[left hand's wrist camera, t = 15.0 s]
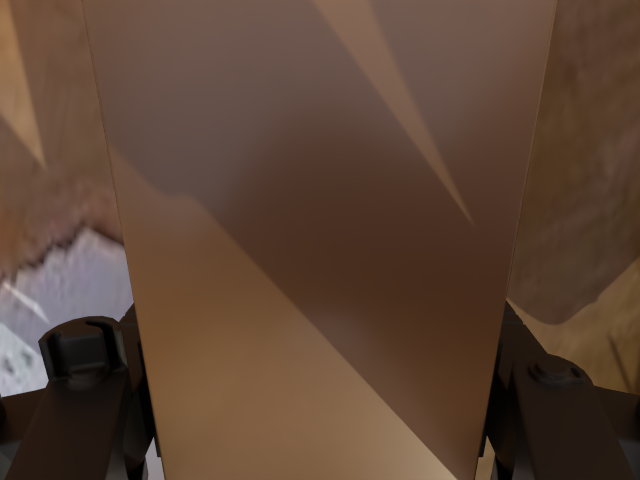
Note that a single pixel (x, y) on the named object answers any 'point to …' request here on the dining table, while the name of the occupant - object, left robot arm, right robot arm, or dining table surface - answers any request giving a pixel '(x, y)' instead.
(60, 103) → the dining table surface
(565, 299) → the dining table surface
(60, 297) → the dining table surface
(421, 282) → the beam
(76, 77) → the dining table surface
